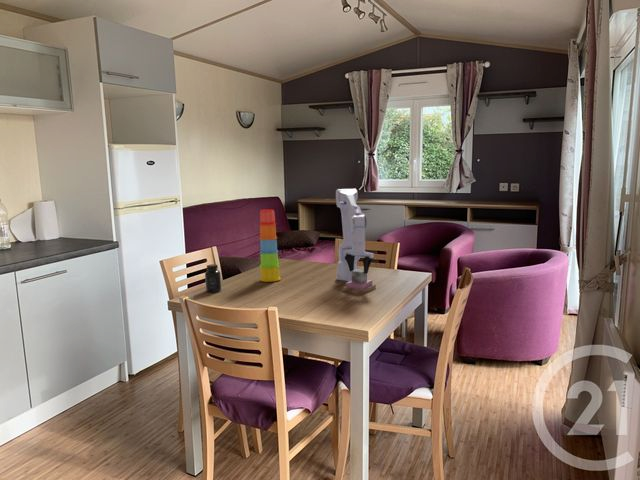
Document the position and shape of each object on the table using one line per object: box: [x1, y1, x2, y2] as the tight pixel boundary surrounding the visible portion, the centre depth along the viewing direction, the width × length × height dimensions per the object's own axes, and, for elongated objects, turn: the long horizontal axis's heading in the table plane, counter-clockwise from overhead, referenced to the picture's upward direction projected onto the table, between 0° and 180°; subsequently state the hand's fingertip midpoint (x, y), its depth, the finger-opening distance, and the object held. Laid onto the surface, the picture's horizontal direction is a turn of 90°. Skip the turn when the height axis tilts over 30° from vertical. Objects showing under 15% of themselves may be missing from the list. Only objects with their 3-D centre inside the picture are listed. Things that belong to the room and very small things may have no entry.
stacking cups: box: [259, 209, 282, 283], centre depth 237 cm, size 10×10×35 cm
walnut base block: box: [341, 283, 377, 295], centre depth 219 cm, size 10×12×2 cm
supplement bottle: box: [204, 263, 222, 294], centre depth 221 cm, size 7×7×12 cm
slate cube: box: [352, 268, 368, 283], centre depth 218 cm, size 5×5×5 cm
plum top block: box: [345, 279, 373, 290], centre depth 218 cm, size 8×10×2 cm
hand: (358, 272), depth 217 cm, fingers open, 7 cm apart
